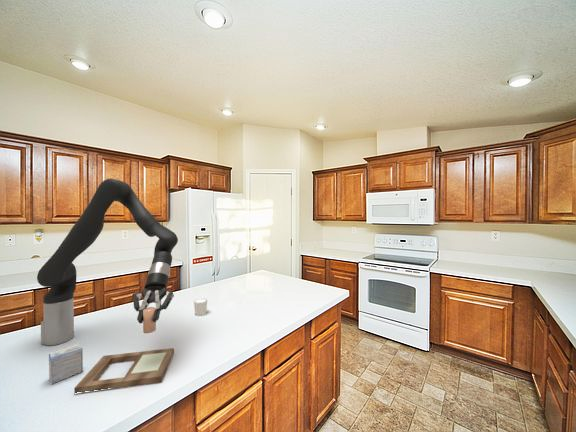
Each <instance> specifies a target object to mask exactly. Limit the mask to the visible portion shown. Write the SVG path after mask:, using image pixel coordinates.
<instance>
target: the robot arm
mask: <svg viewBox="0 0 576 432" xmlns="http://www.w3.org/2000/svg"><path fill="white" fill-rule="evenodd" d="M114 202H119V203H120V204H122V206H124V207H125V208H126V209H127V210H128V211H129V212H130V214H131V215H132V218H133V220H134V222H135V223H136V225H137V226H138V228H139V229H141V230H142V231H143V233H144V234H146V235H147V237H150V238H154V237H157V238H158V240H157V241H156V243H155V245H154V249H153V250H154V252H153V258H152V262H151V265H150V268H149V270H148V272H147V276H146V281H145V284H144V286H143V287H144V288H143V290H142V291H141V293H133V294H132V301H133V309H134V310H135V311H136V312H138V314H137V317H136V320H137V322H138V323H139V324H143V310H144V309H145V308H149V306H150V304H152V303H155V308H156V309H155V311H154V316H153V322H156V323H157V321H159V319H160V315H161V312H162V311H163V310H167V309H168V307H169V305H170V304H171V302H172V300H173V299H174V297H175V294H174V292H173V291H168V290H167V289H168V285H169V280H170V276H171V275H170V274H171V266H172V261H173V256H172V255H173V254H172V252H173V250H174V248H175V247H176V245H177V244H178V241H179V239H178V236H177V234H176V233H175V232H173V230H170V228H167V227H166V226H165V225H163V224H161V222H159V221H158V219H156V218H155V216H154V215H153V214H152V213H151V212H150V211H149V210H148V209H147V207H145V206H144V204H143V203H142V201H141V200H140V198H138V196H137V194H136V193H135V191H134V190H133V188H132V187H131V186H130V184H128V183H127V182H126V181H123V180H119V179H116V178H107V179H103V181H102V182H100V184H99V185H98V187H97V188H96V190H95V192H94V194H93V196H92V198H91V200H90V201H89V203H88V205H87V206H86V208H85V209H84V210H83V212H82V214H81V215H80V216H79V218H78V219H77V221H76V222H75V223H74V225H73V226H71V227H72V228H71V229H70V231H69V232H68V234H67V235H66V236H65V238H64V239H63V240H62V242H61V243H60V245H59V246H58V247H57V249H56V251H55V252H54V253H53V254H52V255H51V256H50V257H49V259H48V260H47V261H46V262H45V263H44V264H43V265H42V266H41V268H40V269H39V271H38V273H37V276H36V281H37V283H38V284H39V285H40V286H42V287H45V288H49V289H48V291H47V292H46V293H45V294H44V295H43V298H42V303H43V308H42V309H43V320H42V321H40V345H42V346H43V345H44V346H50V347H51V346H56V345H60V344H64V343H66V342H68V341H70V340H71V339H74V337H75V311H74V310H75V307H74V298H75V297H74V294H75V292H76V289H77V267H76V266H75V264H74V263H73V262H74V261H75V259H77V258H78V257H79V256H80V255H81V254H82V253H84V252H85V251H87V249H89V247H91V246H92V245H93V244H94V242H95V241H96V240H97V238H98V237H99V235H100V234H101V232H102V231H103V229H104V225H105V224H104V223H105V216H106V213H107V211H108V210H109V208H110V207H111V205H112V204H114ZM142 297H143V300H142V302H141V305H140V301H141V298H142ZM163 298H165V299H164V301H163V302H162V299H163Z"/></svg>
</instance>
